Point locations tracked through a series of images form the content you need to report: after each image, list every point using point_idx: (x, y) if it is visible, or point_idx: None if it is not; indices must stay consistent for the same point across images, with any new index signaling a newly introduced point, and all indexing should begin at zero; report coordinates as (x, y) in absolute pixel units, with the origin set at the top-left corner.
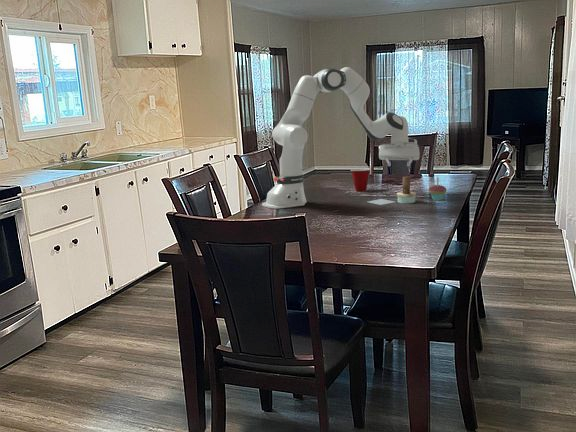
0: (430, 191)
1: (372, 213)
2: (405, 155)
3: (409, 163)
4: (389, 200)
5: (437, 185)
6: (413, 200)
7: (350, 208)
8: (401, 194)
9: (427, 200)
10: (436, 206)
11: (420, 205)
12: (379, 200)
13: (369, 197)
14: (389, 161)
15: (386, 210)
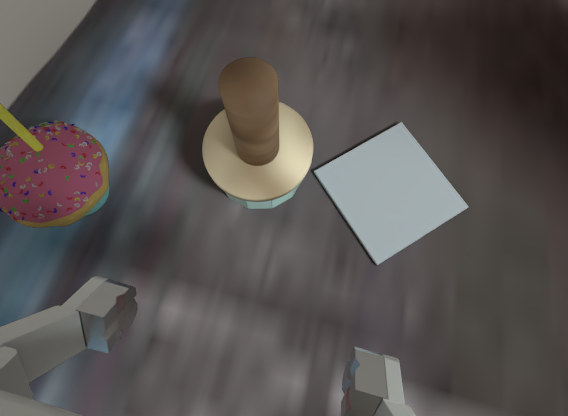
0: (105, 158)
1: (447, 6)
2: (35, 414)
3: (92, 284)
4: (341, 210)
5: (38, 141)
6: None
7: (544, 105)
8: (292, 126)
9: (143, 183)
10: (158, 57)
11: (218, 89)
12: (394, 223)
13: (442, 355)
14: (376, 395)
15: (385, 38)
